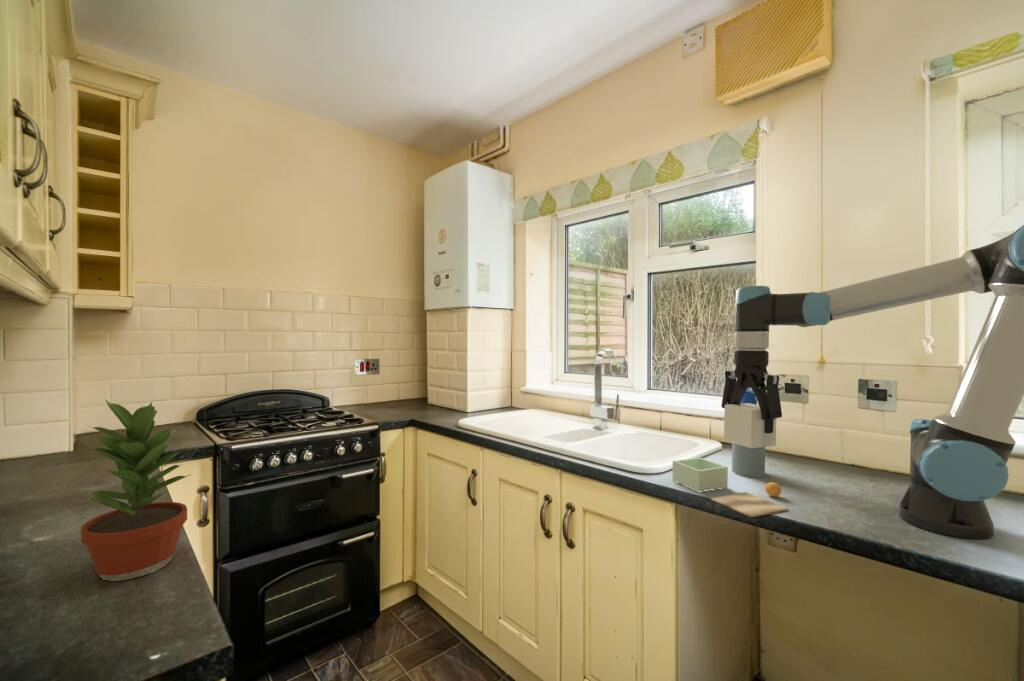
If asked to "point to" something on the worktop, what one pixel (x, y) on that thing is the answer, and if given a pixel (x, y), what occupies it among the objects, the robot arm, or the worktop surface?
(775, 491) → the ball
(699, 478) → the tub
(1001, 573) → the worktop surface
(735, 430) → the block
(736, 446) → the spray bottle
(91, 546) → the potted plant
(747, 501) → the mat
